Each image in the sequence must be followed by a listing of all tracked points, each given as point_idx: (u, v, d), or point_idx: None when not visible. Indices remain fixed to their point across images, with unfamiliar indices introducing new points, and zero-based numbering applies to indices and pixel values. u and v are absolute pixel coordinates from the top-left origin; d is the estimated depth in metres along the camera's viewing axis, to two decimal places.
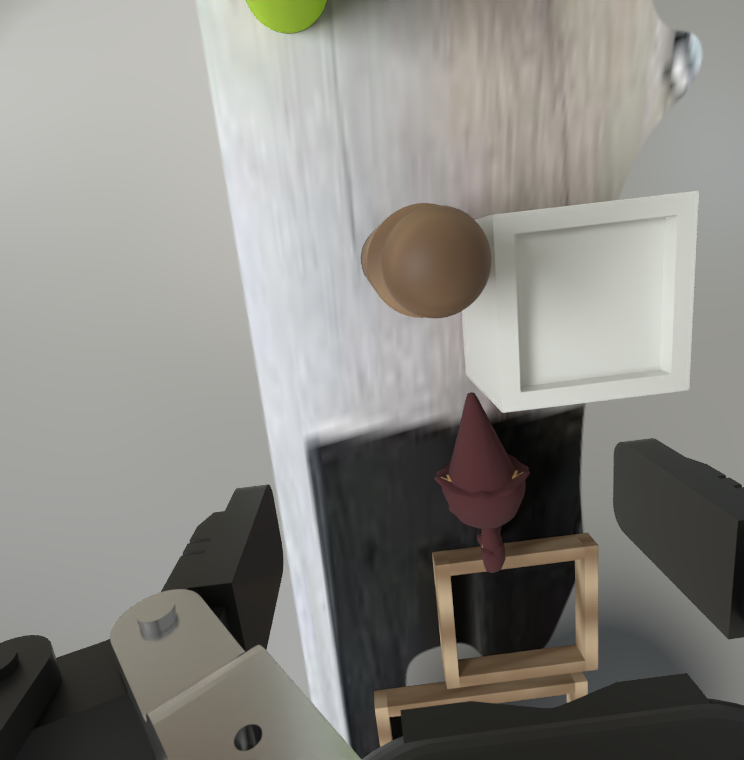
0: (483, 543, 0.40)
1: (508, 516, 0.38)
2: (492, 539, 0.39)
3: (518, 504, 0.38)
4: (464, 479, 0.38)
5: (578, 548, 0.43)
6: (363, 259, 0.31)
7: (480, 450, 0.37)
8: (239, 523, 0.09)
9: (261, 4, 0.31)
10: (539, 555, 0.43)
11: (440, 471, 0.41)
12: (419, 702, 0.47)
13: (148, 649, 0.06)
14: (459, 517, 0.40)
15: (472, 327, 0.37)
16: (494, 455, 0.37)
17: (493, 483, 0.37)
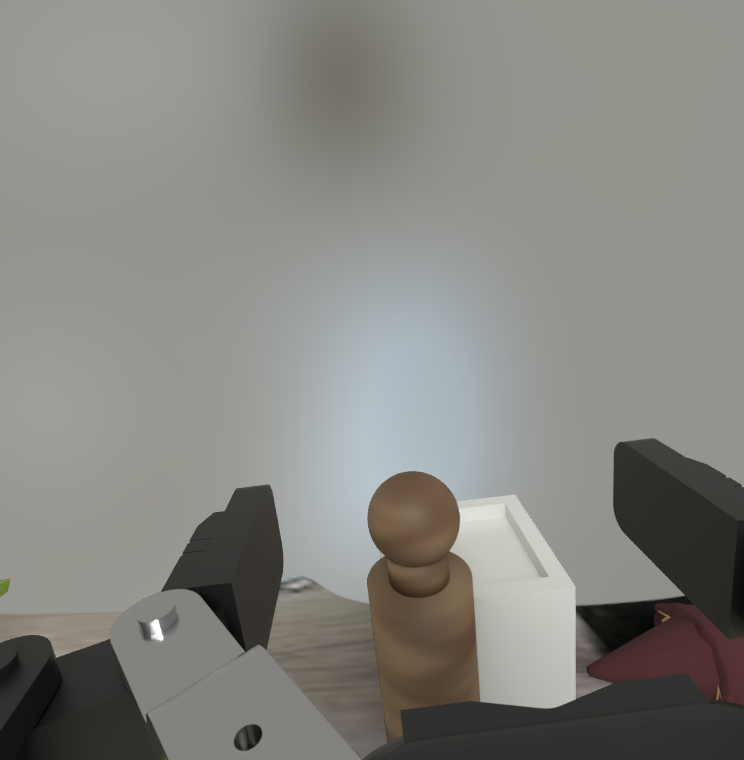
0: None
1: None
2: None
3: None
4: (700, 661, 0.31)
5: None
6: None
7: (651, 647, 0.32)
8: (239, 523, 0.09)
9: None
10: None
11: None
12: None
13: (148, 649, 0.06)
14: None
15: (508, 682, 0.33)
16: (650, 633, 0.33)
17: (682, 625, 0.33)
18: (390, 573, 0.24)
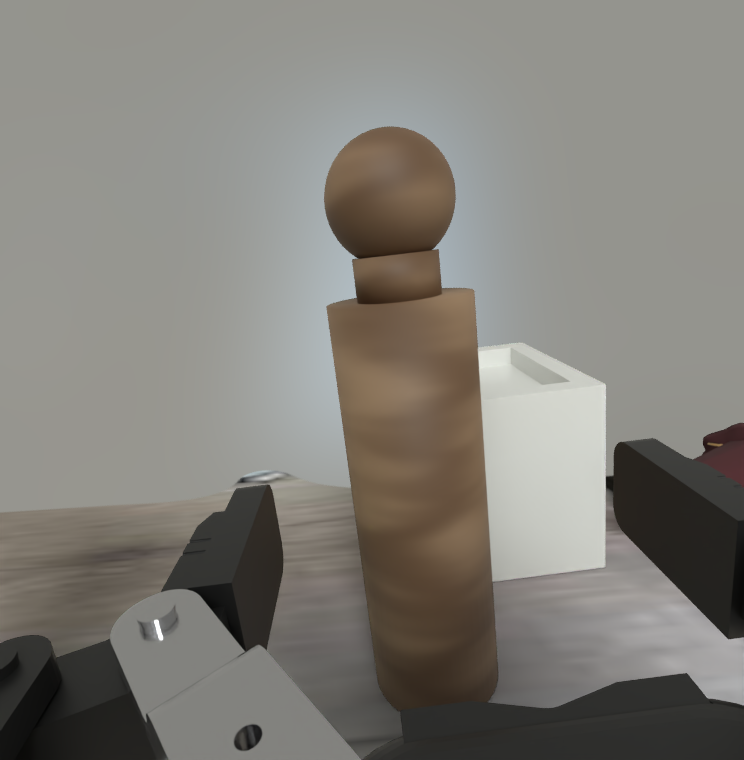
0: None
1: None
2: None
3: None
4: None
5: None
6: (421, 543, 0.17)
7: None
8: (239, 523, 0.09)
9: None
10: None
11: None
12: None
13: (148, 649, 0.06)
14: None
15: (520, 520, 0.26)
16: (702, 457, 0.26)
17: None
18: (357, 280, 0.17)
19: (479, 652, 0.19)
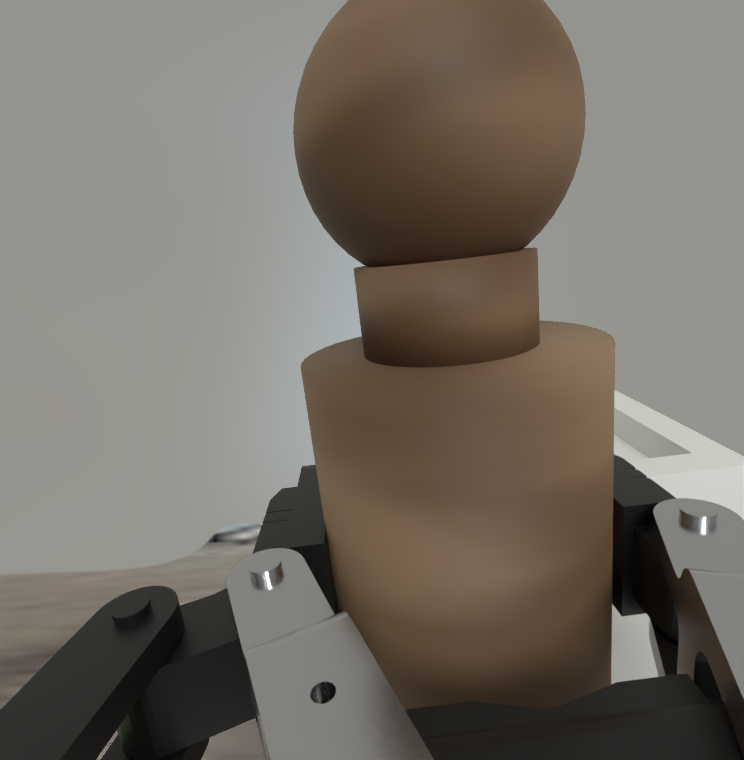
0: None
1: None
2: None
3: None
4: None
5: None
6: None
7: None
8: (315, 495, 0.10)
9: None
10: None
11: None
12: None
13: (266, 595, 0.07)
14: None
15: None
16: None
17: None
18: (365, 313, 0.08)
19: None
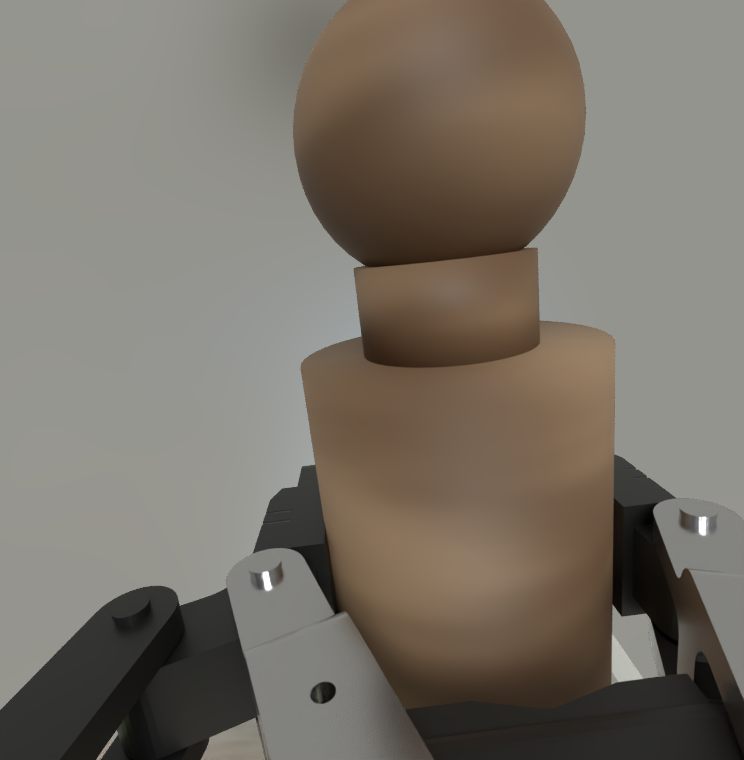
0: None
1: None
2: None
3: None
4: None
5: None
6: None
7: None
8: (315, 495, 0.10)
9: None
10: None
11: None
12: None
13: (266, 595, 0.07)
14: None
15: None
16: None
17: None
18: (365, 313, 0.08)
19: None
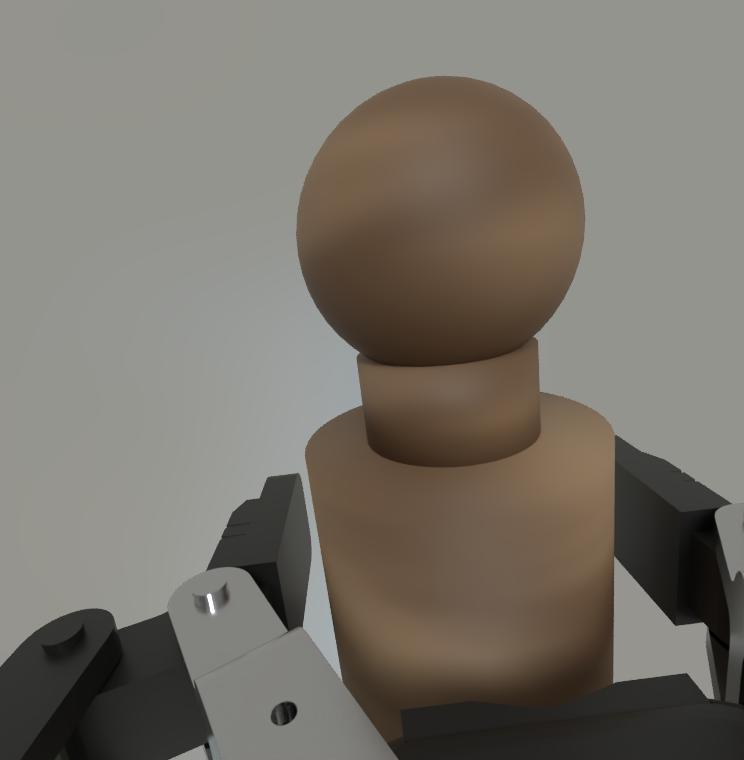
0: None
1: None
2: None
3: None
4: None
5: None
6: None
7: None
8: (275, 508, 0.10)
9: None
10: None
11: None
12: None
13: (206, 620, 0.07)
14: None
15: None
16: None
17: None
18: (369, 406, 0.08)
19: None
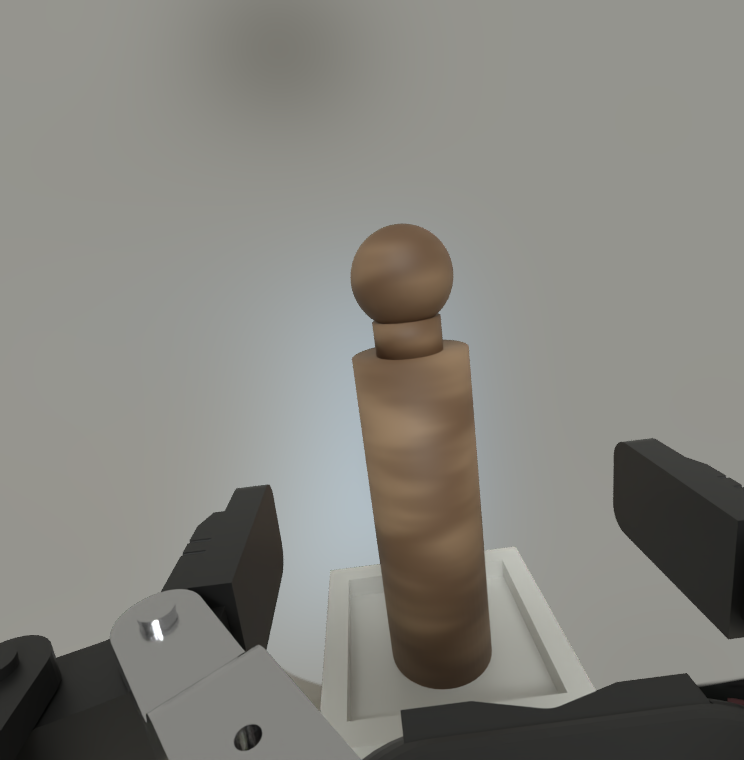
0: None
1: None
2: None
3: None
4: None
5: None
6: (428, 545, 0.22)
7: None
8: (239, 523, 0.09)
9: None
10: None
11: None
12: None
13: (148, 649, 0.06)
14: None
15: None
16: None
17: None
18: (377, 340, 0.21)
19: (475, 632, 0.23)
